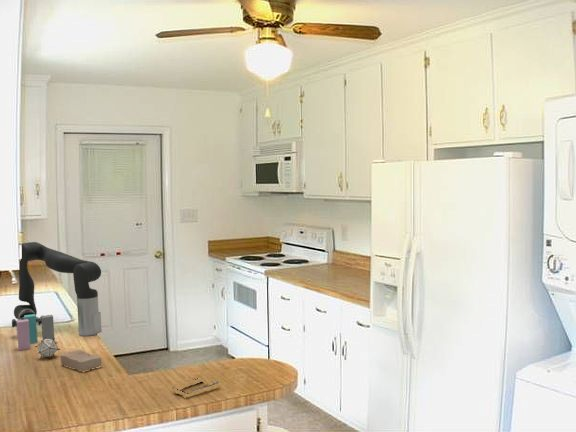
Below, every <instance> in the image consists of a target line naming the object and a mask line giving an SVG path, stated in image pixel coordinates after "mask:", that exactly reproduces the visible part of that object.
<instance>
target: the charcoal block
mask: <svg viewBox="0 0 576 432" xmlns="http://www.w3.org/2000/svg"><path fill="white" fill-rule="evenodd" d="M40 316H41V322H42V324H41V335H42V336H41V338H42V341H43V340H44V339H45V337H46V339H54V338H55V328H54V327H55V325H54V316H53V314H47V315H43V316H42V315H40ZM54 341H55V342H56V340H55V339H54Z"/></svg>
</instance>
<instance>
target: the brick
mask: <svg viewBox="0 0 576 432" xmlns="http://www.w3.org/2000/svg"><path fill="white" fill-rule="evenodd" d="M59 357H60V365H61V364H62V365H65V366H68V367H71V368H75V369H78V370H81V371H85V370H89V369H92V368H96V367H99V366H102V365H103V364H102V357H101V356H98V355H96V354H95V355H94V354H91V353H89V352H86V351H84V350H82V349H76V350H72V351H68V352H66V353H62V354H60V356H59ZM62 365H61V366H62ZM65 366H64V367H65ZM68 367H67V368H68ZM102 367H103V366H102ZM81 371H80V372H81Z"/></svg>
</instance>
